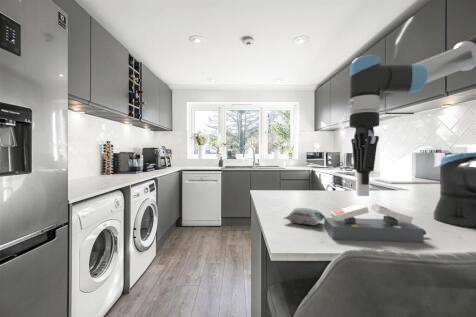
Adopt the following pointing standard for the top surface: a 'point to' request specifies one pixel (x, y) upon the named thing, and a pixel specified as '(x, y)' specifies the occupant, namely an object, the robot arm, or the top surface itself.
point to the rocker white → (392, 213)
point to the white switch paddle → (349, 212)
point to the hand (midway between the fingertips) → (362, 195)
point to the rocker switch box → (374, 229)
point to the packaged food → (305, 216)
